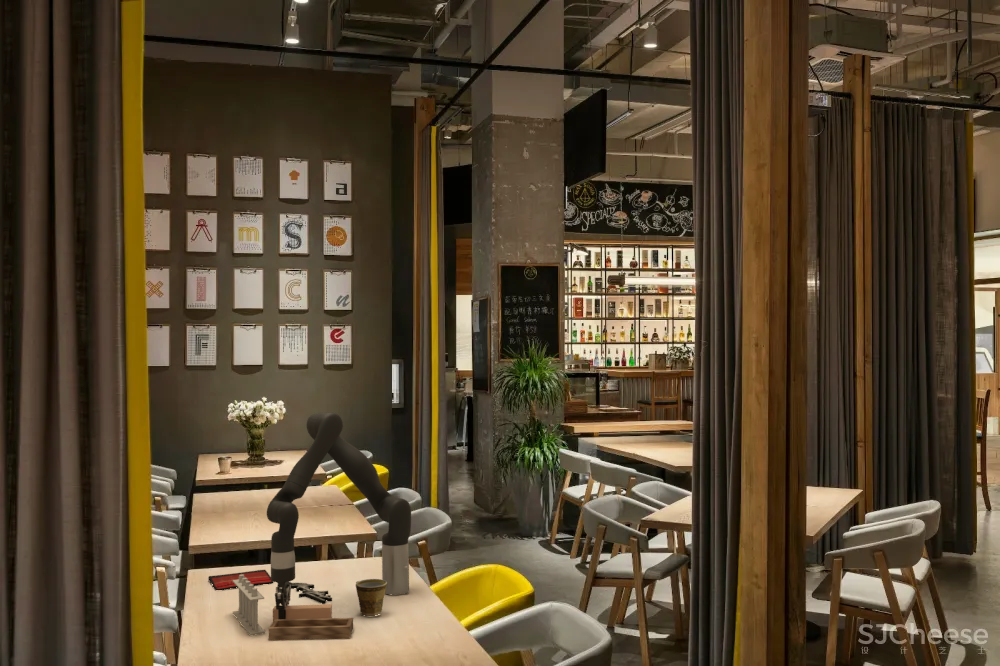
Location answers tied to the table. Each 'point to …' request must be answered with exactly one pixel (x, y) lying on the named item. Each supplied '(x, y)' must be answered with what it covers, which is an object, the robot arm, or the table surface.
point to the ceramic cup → (371, 596)
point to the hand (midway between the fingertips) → (283, 618)
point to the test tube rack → (248, 606)
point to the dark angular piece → (311, 592)
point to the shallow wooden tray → (311, 629)
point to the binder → (227, 580)
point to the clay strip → (306, 611)
